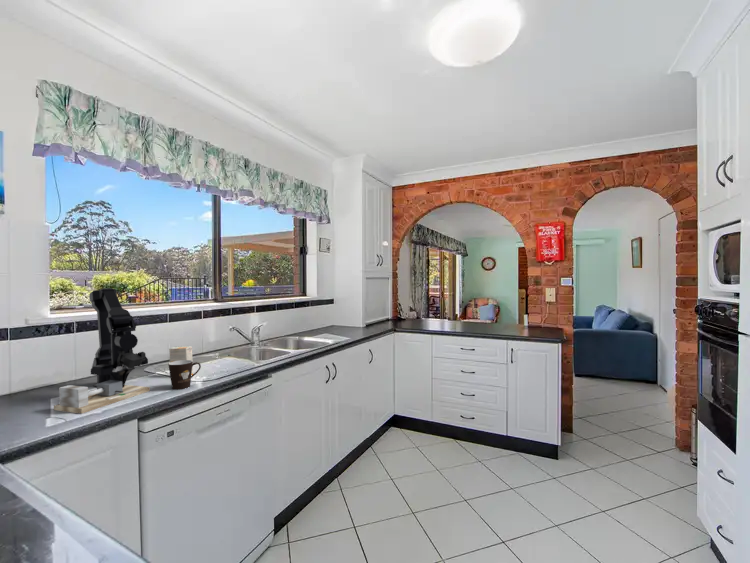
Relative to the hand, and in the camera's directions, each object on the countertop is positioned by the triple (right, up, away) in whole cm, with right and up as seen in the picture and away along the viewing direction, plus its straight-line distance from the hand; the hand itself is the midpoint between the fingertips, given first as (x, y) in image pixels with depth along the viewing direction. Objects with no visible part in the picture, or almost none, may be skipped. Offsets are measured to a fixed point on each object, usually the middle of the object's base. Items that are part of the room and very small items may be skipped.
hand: (121, 387), depth 140 cm
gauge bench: (-2, -3, -6) cm, 7 cm away
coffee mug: (+20, -2, +9) cm, 22 cm away
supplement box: (+9, -2, +26) cm, 27 cm away
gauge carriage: (-1, -1, -8) cm, 8 cm away
